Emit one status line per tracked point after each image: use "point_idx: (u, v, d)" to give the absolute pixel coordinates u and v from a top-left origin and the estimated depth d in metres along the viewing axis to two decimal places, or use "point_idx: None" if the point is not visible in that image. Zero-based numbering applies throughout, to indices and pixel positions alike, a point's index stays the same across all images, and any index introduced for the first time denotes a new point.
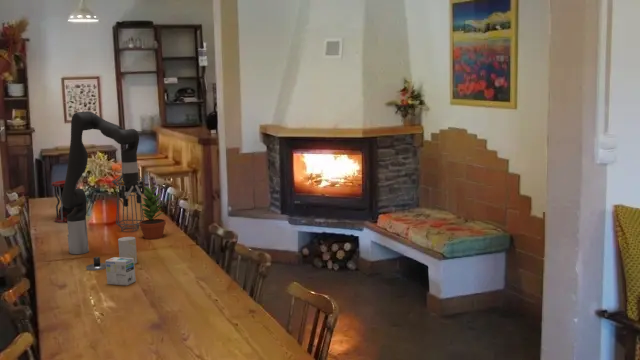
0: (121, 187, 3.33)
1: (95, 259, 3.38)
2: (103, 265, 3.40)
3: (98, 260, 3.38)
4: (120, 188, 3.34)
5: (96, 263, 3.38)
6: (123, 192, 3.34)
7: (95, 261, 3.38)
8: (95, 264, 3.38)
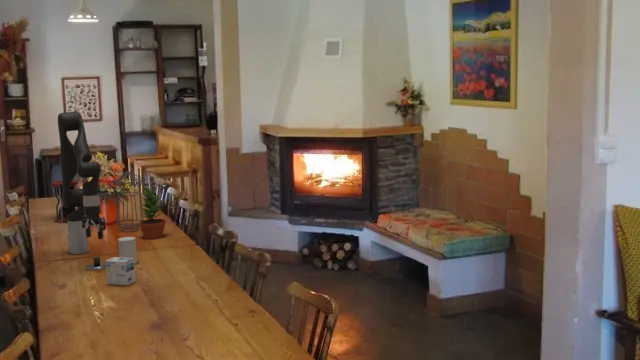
0: (103, 219, 3.32)
1: (95, 259, 3.38)
2: (103, 265, 3.40)
3: (98, 260, 3.38)
4: (102, 220, 3.32)
5: (96, 263, 3.38)
6: None
7: (95, 261, 3.38)
8: (95, 264, 3.38)
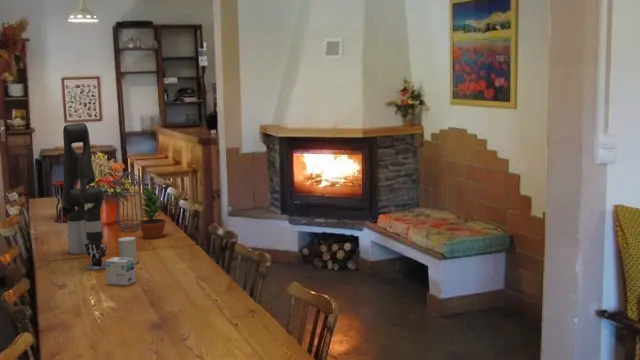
0: (105, 248, 3.35)
1: (95, 258, 3.37)
2: (103, 264, 3.40)
3: None
4: (103, 249, 3.35)
5: (96, 262, 3.38)
6: None
7: (95, 260, 3.38)
8: (95, 263, 3.38)
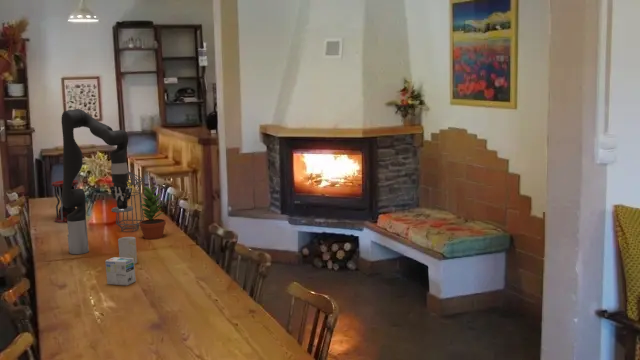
0: (130, 190, 3.37)
1: (120, 201, 3.40)
2: (128, 207, 3.42)
3: None
4: (129, 191, 3.37)
5: (121, 205, 3.40)
6: None
7: (120, 203, 3.40)
8: (120, 206, 3.40)
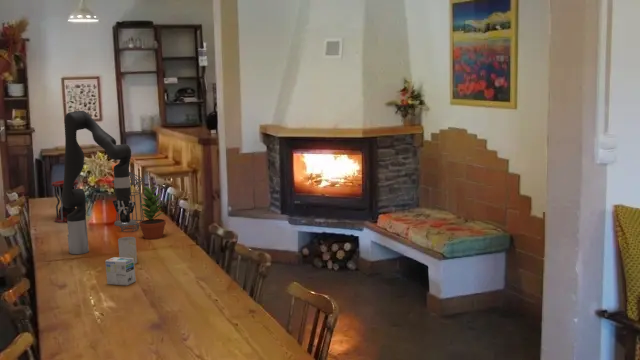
0: (133, 204, 3.39)
1: (123, 215, 3.41)
2: (131, 221, 3.43)
3: None
4: (132, 205, 3.38)
5: (124, 219, 3.41)
6: None
7: (123, 217, 3.41)
8: (123, 220, 3.42)
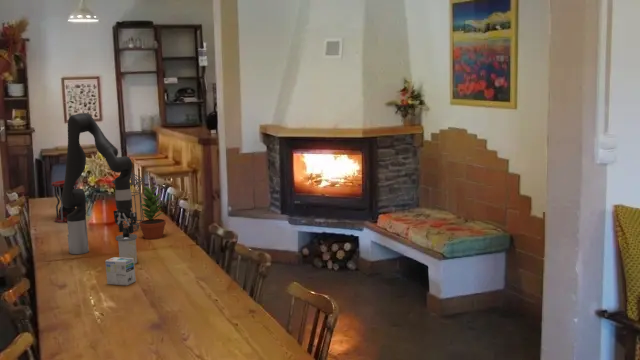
0: (135, 214, 3.39)
1: (124, 229, 3.42)
2: (132, 236, 3.45)
3: (127, 230, 3.43)
4: (134, 215, 3.39)
5: (125, 233, 3.43)
6: None
7: (124, 231, 3.43)
8: (124, 234, 3.43)
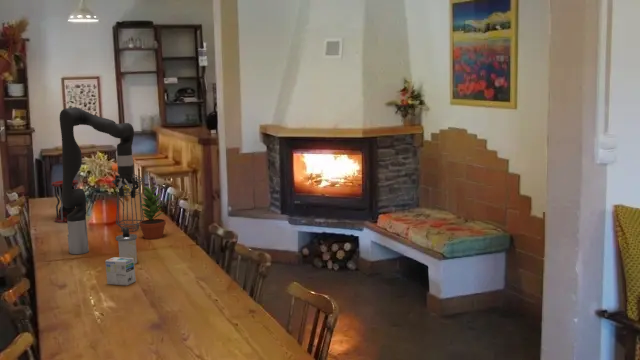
0: (136, 178, 3.45)
1: (124, 230, 3.42)
2: (132, 236, 3.45)
3: (127, 231, 3.43)
4: (135, 180, 3.44)
5: (125, 233, 3.43)
6: None
7: (124, 232, 3.43)
8: (124, 234, 3.43)
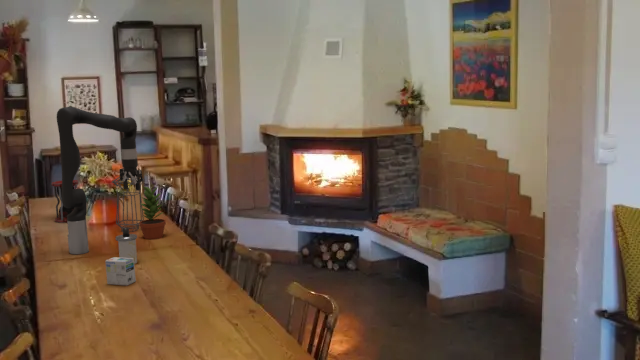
0: (140, 171, 3.53)
1: (124, 229, 3.42)
2: (132, 236, 3.45)
3: (127, 231, 3.43)
4: (139, 172, 3.53)
5: (125, 233, 3.43)
6: None
7: (124, 231, 3.43)
8: (124, 234, 3.43)
